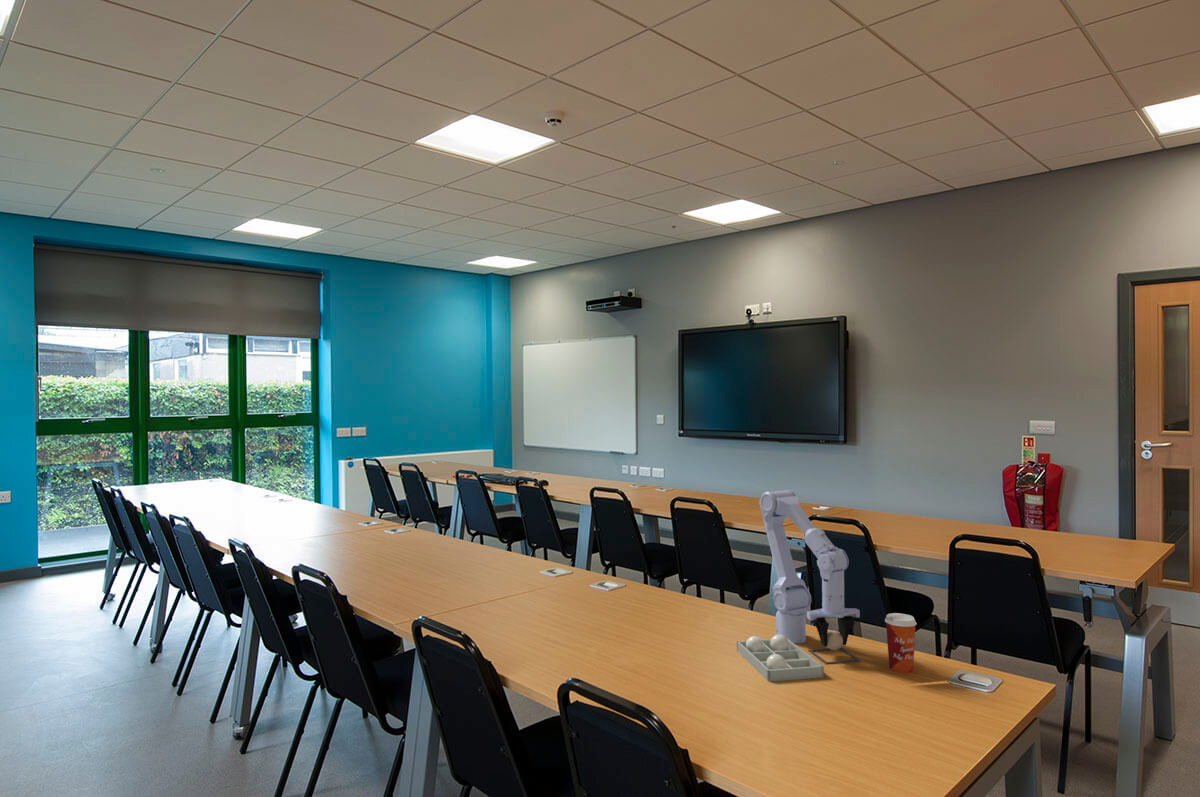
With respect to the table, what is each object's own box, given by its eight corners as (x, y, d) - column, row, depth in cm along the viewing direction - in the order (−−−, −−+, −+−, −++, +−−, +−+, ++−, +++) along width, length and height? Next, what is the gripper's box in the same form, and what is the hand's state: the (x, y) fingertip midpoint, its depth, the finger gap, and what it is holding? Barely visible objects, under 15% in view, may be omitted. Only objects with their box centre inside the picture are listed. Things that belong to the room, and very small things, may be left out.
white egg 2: (767, 650, 195) (767, 632, 195) (784, 649, 196) (784, 631, 196) (774, 656, 190) (774, 638, 190) (792, 655, 191) (791, 637, 191)
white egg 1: (743, 652, 194) (743, 634, 194) (760, 650, 195) (760, 632, 195) (749, 658, 189) (749, 640, 189) (767, 657, 190) (767, 638, 190)
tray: (736, 653, 195) (736, 641, 195) (786, 650, 198) (786, 637, 198) (768, 684, 173) (768, 670, 173) (823, 680, 176) (823, 666, 176)
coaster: (808, 653, 194) (808, 649, 194) (841, 651, 196) (841, 647, 196) (825, 667, 184) (825, 662, 184) (860, 664, 186) (860, 660, 186)
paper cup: (898, 678, 177) (897, 622, 177) (878, 667, 184) (878, 613, 184) (924, 674, 179) (923, 619, 179) (904, 663, 186) (903, 611, 186)
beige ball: (820, 646, 192) (820, 628, 192) (837, 645, 193) (837, 627, 193) (829, 653, 187) (829, 634, 187) (846, 652, 188) (846, 633, 188)
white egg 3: (763, 671, 180) (762, 651, 180) (781, 669, 181) (781, 650, 181) (771, 678, 175) (770, 658, 175) (789, 677, 176) (789, 657, 176)
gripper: (815, 600, 185) (815, 651, 185) (865, 597, 188) (866, 647, 187) (803, 593, 192) (803, 642, 192) (852, 590, 194) (852, 639, 194)
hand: (833, 644), depth 190 cm, fingers closed on beige ball, 5 cm apart
